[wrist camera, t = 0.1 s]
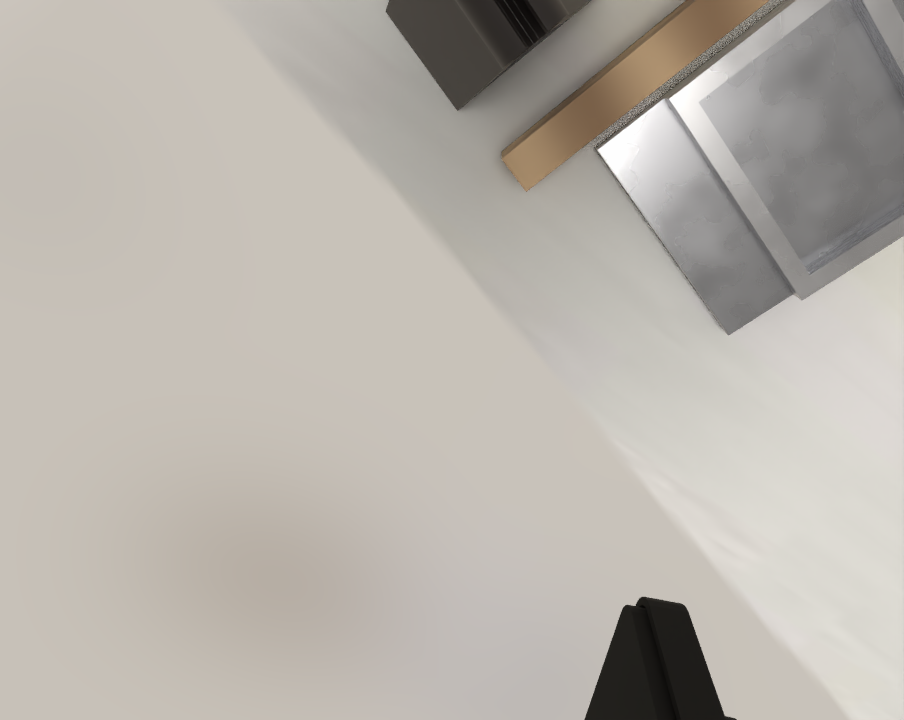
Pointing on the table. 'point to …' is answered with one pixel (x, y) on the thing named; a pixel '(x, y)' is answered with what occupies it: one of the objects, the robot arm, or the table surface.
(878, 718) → the table surface
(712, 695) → the robot arm
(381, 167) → the table surface
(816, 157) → the keeper plate
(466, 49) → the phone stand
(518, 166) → the door edge rail
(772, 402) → the table surface
